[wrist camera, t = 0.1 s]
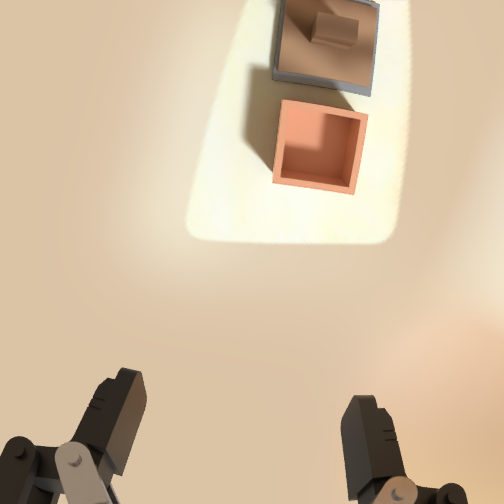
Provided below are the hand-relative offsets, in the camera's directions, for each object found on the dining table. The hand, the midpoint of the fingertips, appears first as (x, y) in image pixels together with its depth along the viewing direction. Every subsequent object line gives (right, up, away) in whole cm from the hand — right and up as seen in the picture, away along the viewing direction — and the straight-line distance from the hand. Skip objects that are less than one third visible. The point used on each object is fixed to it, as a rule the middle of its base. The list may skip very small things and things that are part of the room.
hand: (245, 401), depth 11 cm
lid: (+8, +29, +17) cm, 34 cm away
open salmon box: (+7, +18, +23) cm, 30 cm away
